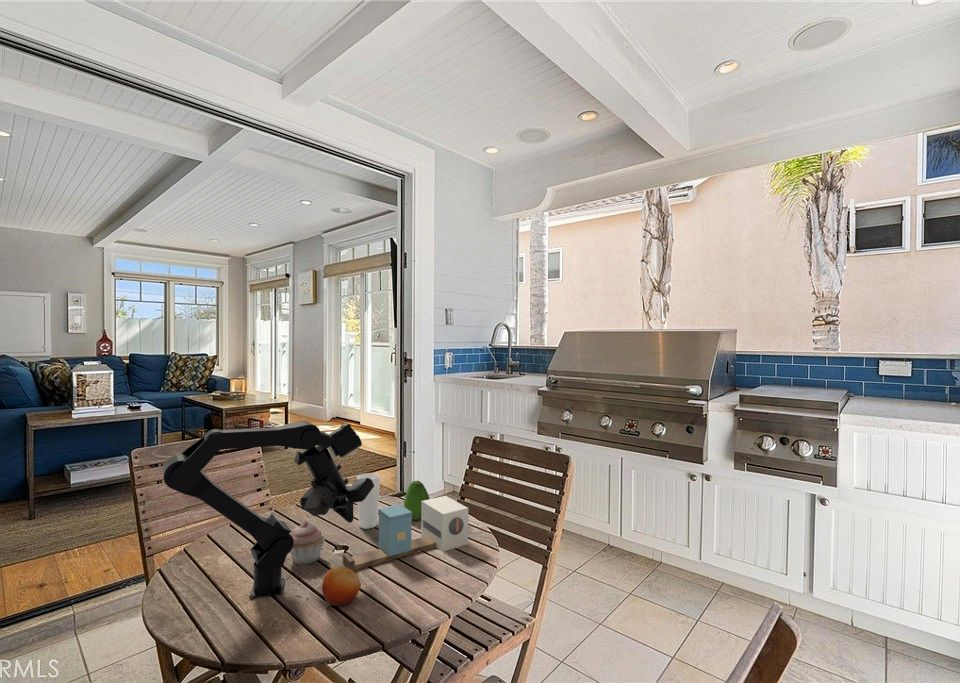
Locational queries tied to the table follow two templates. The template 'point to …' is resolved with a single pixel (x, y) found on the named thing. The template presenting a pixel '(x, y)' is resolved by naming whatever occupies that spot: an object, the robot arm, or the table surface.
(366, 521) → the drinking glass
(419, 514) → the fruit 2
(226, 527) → the table surface
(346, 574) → the fruit
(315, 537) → the cupcake
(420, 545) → the rail
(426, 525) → the cabinet
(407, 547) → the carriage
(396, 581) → the table surface
